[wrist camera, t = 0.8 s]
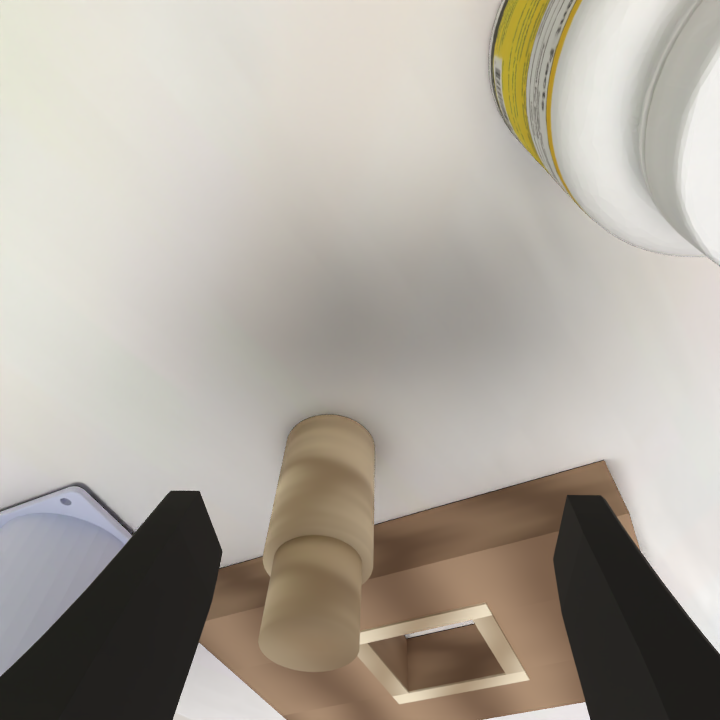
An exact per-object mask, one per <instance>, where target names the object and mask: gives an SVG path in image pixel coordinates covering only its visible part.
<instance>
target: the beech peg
mask: <svg viewBox="0 0 720 720" xmlns="http://www.w3.org/2000/svg"><path fill="white" fill-rule="evenodd" d="M374 477H375V445H374V441H373V439H372V437H371V435H370V434H369V432H368V431H367V430H366V429H365V428H364V427H363V426H362V425H361V424H359V423H357V422H356V421H354V420H352V419H349V418H346V417H343V416H339V415H318V416H313V417H310V418H308V419H305V420H303V421H302V422H300V423H299V424H297V425H296V426H295V427H294V428H293V429H292V431H291V432H290V434H289V436H288V439H287V443H286V447H285V452H284V457H283V462H282V466H281V471H280V476H279V481H278V486H277V490H276V495H275V500H274V505H273V509H272V514H271V519H270V524H269V529H268V533H267V538H266V543H265V548H264V552H263V565H264V568H265V570H266V572H267V573H268V574H269V576H270V581H269V586H268V591H267V597H266V602H265V607H264V612H263V618H262V623H261V628H260V634H259V639H258V644H259V648H260V650H261V651H262V653H263V654H264V655H265V656H266V657H267V658H268V659H270V660H271V661H273V662H274V663H276V664H278V665H281V666H283V667H286V668H289V669H293V670H298V671H305V672H324V671H331V670H335V669H338V668H341V667H344V666H346V665H348V664H349V663H351V662H352V661H353V660H354V659H355V658H356V657H357V655H358V653H359V645H360V615H361V585H363V584H364V583H365V582H366V581H367V580H368V579H369V577H370V575H371V573H372V570H373V550H374Z"/></svg>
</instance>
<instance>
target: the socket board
mask: <svg viewBox="0 0 720 720" xmlns="http://www.w3.org/2000/svg"><path fill="white" fill-rule="evenodd" d="M567 495H601V496H602V497H603V498H604V499H606V501H607V502H608V504H609V506H610V507H611V509H612V510H613V512H614V513H615V515H616V516H617V518H618V519H619V521H620V522H621V524H622V525H623V527H624V528H625V530H626V531H627V533H628V534H629V536H630V537H631V539H632V540H633V541H634V543H635V544H636V546H637V547H638V549H639V550H640V548H639V545H638V542H637V538H636V535H635V531H634V528H633V524H632V521H631V518H630V514H629V512H628V510H627V507H626V505H625V503H624V501H623V499H622V497H621V495H620V493H619V491H618V489H617V486H616V484H615V482H614V480H613V478H612V476H611V474H610V472H609V470H608V468H607V465H606V463H605V461H600V462H597V463H593V464H590V465H586V466H583V467H579V468H575V469H572V470H568V471H565V472H561V473H558V474H554V475H551V476H547V477H544V478H540V479H536V480H533V481H529V482H526V483H522V484H519V485H515V486H512V487H508V488H505V489H501V490H497V491H494V492H490V493H487V494H483V495H480V496H476V497H473V498H469V499H465V500H462V501H458V502H455V503H451V504H448V505H444V506H441V507H437V508H434V509H430V510H426V511H423V512H419V513H416V514H412V515H409V516H405V517H402V518H398V519H395V520H391V521H387V522H384V523H380V524H377V525H374V550H373V570H372V573H371V575H370V577H369V579H368V580H367V581H366V582H365V583H364V584H363V585H361V615H360V645H359V653H358V655H357V657H356V658H355V659H354V660H353V661H352V662H351V663H349V664H348V665H346V666H344V667H341V668H338V669H335V670H331V671H324V672H305V671H298V670H293V669H289V668H286V667H283V666H281V665H278V664H276V663H274V662H273V661H271V660H270V659H268V658H267V657H266V656H265V655H264V654H263V653H262V651H261V650H260V648H259V644H258V639H259V634H260V628H261V623H262V618H263V612H264V607H265V602H266V597H267V591H268V586H269V581H270V576H269V574H268V573H267V572H266V570H265V568H264V565H263V557H260V558H256V559H253V560H249V561H246V562H242V563H239V564H235V565H231V566H228V567H224V568H221V569H219V572H218V577H217V582H216V586H215V590H214V595H213V599H212V603H211V606H210V609H209V613H208V616H207V619H206V622H205V625H204V628H203V631H202V634H201V637H200V640H199V643H200V644H202V645H203V646H204V647H205V648H206V649H207V650H208V651H210V652H211V653H212V654H213V655H214V656H215V657H216V658H217V659H219V660H220V661H221V662H222V663H223V664H224V665H225V666H226V667H228V668H229V669H230V670H231V671H232V672H233V673H234V674H235V675H237V676H238V677H239V678H240V679H241V680H242V681H243V682H245V683H246V684H247V685H248V686H249V687H250V688H251V689H252V690H254V691H255V692H256V693H257V694H258V695H259V696H260V697H261V698H263V699H264V700H265V701H266V702H267V703H268V704H269V705H270V706H272V707H273V708H274V709H275V710H276V711H277V712H278V713H280V714H281V715H282V716H283V717H284V718H285V719H286V720H483V719H489V718H494V717H500V716H506V715H512V714H518V713H524V712H530V711H535V710H541V709H547V708H553V707H559V706H565V705H570V704H576V703H582V702H586V701H585V698H584V694H583V691H582V687H581V683H580V680H579V676H578V672H577V669H576V665H575V661H574V658H573V654H572V650H571V647H570V643H569V639H568V636H567V632H566V628H565V624H564V621H563V617H562V613H561V607H560V601H559V595H558V589H557V583H556V576H555V570H554V563H553V556H554V552H555V547H556V543H557V538H558V534H559V529H560V524H561V520H562V515H563V511H564V506H565V502H566V497H567ZM469 620H473V622H474V623H475V624H473V625H469V626H464V627H460V628H455V629H450V630H446V631H441V632H437V633H432V634H428V635H423V636H418V637H414V638H409V639H406V638H405V636H404V635H406V634H410V633H415V632H419V631H424V630H428V629H433V628H437V627H442V626H446V625H451V624H455V623H460V622H464V621H469Z"/></svg>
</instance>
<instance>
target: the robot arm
mask: <svg viewBox="0 0 720 720" xmlns="http://www.w3.org/2000/svg"><path fill="white" fill-rule="evenodd" d="M221 557H222V549H221V546H220V544H219V541H218V538H217V536H216V533H215V531H214V528H213V525H212V523H211V520H210V517H209V515H208V512H207V509H206V507H205V504H204V502H203V499H202V496H201V494H200V491H170V492H169V493H168V494H167V495H166V497H165V498H164V499H163V500H162V501H161V502H160V504H159V505H158V506H157V507H156V508H155V510H154V511H153V512H152V513H151V514H150V516H149V517H148V518H147V519H146V520H145V522H144V523H143V524H142V525H141V526H140V527H139V529H138V530H137V531H136V532H135V533H134V535H133V536H132V535H131V534H130V533H129V532H128V531H127V530H126V529H125V528H124V527H123V526H122V525H121V524H120V523H119V522H118V521H117V520H116V519H114V518H113V517H112V516H111V515H110V514H109V513H108V512H107V511H106V510H105V509H104V508H103V507H102V506H101V505H100V504H99V503H98V502H97V501H96V500H95V499H93V498H92V497H91V496H90V495H89V494H88V493H87V492H86V491H85V490H84V489H82V488H80V487H77V486H72V487H68V488H65V489H62V490H60V491H57V492H54V493H51V494H49V495H46V496H43V497H40V498H37V499H35V500H32V501H29V502H26V503H23V504H21V505H18V506H15V507H12V508H10V509H7V510H4V511H1V512H0V720H173V717H174V714H175V711H176V708H177V705H178V702H179V699H180V696H181V693H182V690H183V687H184V684H185V681H186V678H187V675H188V672H189V669H190V666H191V664H192V661H193V658H194V655H195V652H196V649H197V646H198V643H199V640H200V637H201V634H202V631H203V628H204V625H205V622H206V619H207V616H208V613H209V609H210V606H211V603H212V599H213V595H214V590H215V586H216V582H217V577H218V572H219V567H220V562H221ZM553 563H554V570H555V576H556V583H557V589H558V595H559V601H560V607H561V613H562V617H563V621H564V624H565V628H566V632H567V636H568V639H569V643H570V647H571V650H572V654H573V658H574V661H575V665H576V669H577V672H578V676H579V680H580V683H581V687H582V691H583V694H584V698H585V701H586V705H587V709H588V712H589V716H590V720H720V654H719V653H718V651H717V650H716V649H715V648H714V647H713V645H712V644H711V643H710V642H709V641H708V639H707V638H706V637H705V636H704V635H703V633H702V632H701V631H700V630H699V628H698V627H697V626H696V625H695V623H694V622H693V621H692V620H691V618H690V617H689V616H688V614H687V613H686V612H685V611H684V609H683V608H682V607H681V605H680V604H679V603H678V601H677V600H676V599H675V598H674V596H673V595H672V594H671V592H670V591H669V590H668V588H667V587H666V586H665V584H664V583H663V582H662V581H661V579H660V578H659V576H658V575H657V574H656V572H655V571H654V570H653V568H652V567H651V566H650V564H649V563H648V561H647V560H646V558H645V557H644V556H643V554H642V553H641V551H640V550H639V549H638V547H637V546H636V544H635V543H634V541H633V540H632V539H631V537H630V536H629V534H628V533H627V531H626V530H625V528H624V527H623V525H622V524H621V522H620V521H619V519H618V518H617V516H616V515H615V513H614V512H613V510H612V509H611V507H610V506H609V504H608V502H607V501H606V499H604V498H603V497H602V496H601V495H567V497H566V502H565V506H564V511H563V515H562V520H561V524H560V529H559V534H558V538H557V543H556V547H555V552H554V556H553Z"/></svg>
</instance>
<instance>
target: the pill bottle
mask: <svg viewBox="0 0 720 720" xmlns="http://www.w3.org/2000/svg"><path fill="white" fill-rule="evenodd" d="M489 77H490V83H491V89H492V93H493V96H494V100H495V103H496V105H497V108H498V110H499V112H500V114H501V116H502V118H503V120H504V122H505V123H506V125H507V126H508V128H509V129H510V131H511V132H512V133H513V135H514V136H515V137H516V138H517V139H518V140H519V142H520V143H521V144H522V145H523V146H524V147H525V148H526V149H527V150H528V151H529V152H530V154H531V155H532V156H533V157H534V158H535V159H536V160H537V161H538V162H539V163H540V164H541V165H542V167H543V168H544V169H545V170H546V171H547V172H548V173H549V174H550V175H551V177H552V178H553V179H554V180H555V181H556V182H557V183H558V184H559V185H560V186H561V188H562V189H563V190H564V191H565V192H566V193H567V194H568V195H569V196H570V197H571V198H572V199H573V200H574V202H575V203H576V204H577V205H578V206H579V207H580V208H581V209H582V210H583V211H584V212H585V213H586V214H587V215H588V216H589V217H590V218H591V219H592V220H594V221H595V222H596V223H597V224H599V225H600V226H601V227H603V228H604V229H605V230H607V231H608V232H609V233H611V234H612V235H614V236H615V237H617V238H618V239H620V240H622V241H624V242H626V243H628V244H630V245H633V246H636V247H638V248H641V249H644V250H647V251H651V252H655V253H660V254H665V255H671V256H683V257H706V256H707V257H708V258H709V259H711V260H712V261H713V262H715V263H716V264H717V265H719V266H720V0H503V1H502V3H501V5H500V8H499V11H498V13H497V16H496V20H495V23H494V27H493V31H492V36H491V41H490V48H489Z"/></svg>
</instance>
